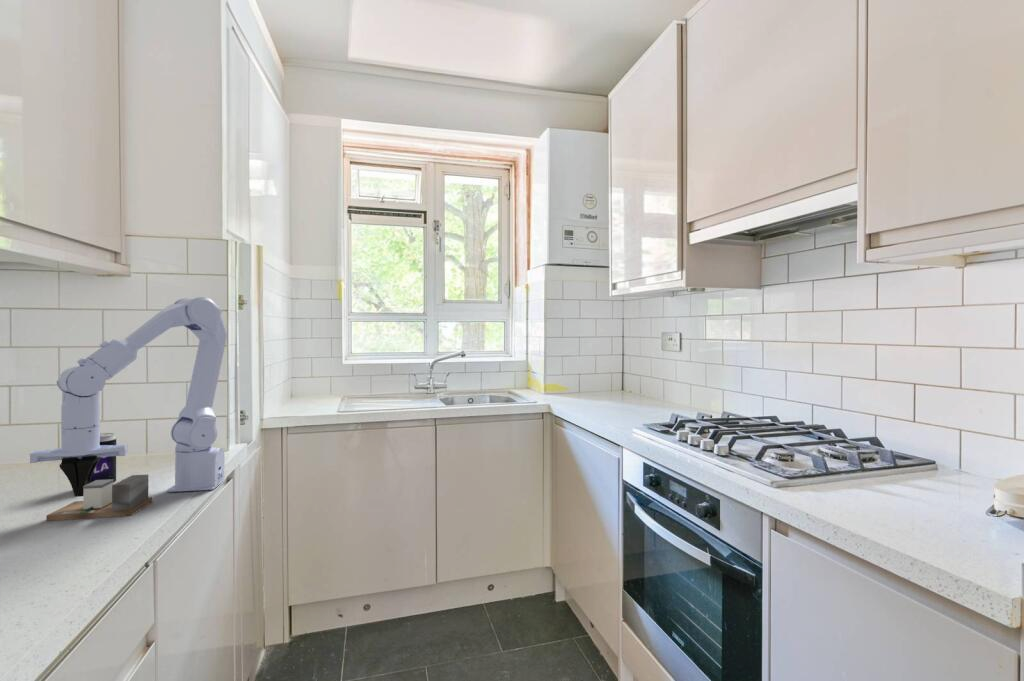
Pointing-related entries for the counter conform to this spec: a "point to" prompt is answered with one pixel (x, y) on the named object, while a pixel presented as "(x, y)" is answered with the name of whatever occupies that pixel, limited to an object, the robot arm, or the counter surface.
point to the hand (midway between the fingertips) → (80, 495)
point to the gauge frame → (124, 502)
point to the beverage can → (105, 461)
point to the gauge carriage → (97, 494)
